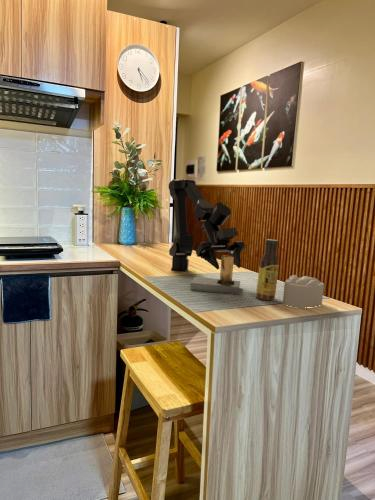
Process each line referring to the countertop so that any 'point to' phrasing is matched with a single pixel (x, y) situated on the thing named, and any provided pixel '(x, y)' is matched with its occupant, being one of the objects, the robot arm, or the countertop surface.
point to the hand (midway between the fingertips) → (229, 268)
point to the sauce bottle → (268, 272)
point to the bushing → (226, 269)
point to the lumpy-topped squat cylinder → (303, 292)
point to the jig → (214, 285)
